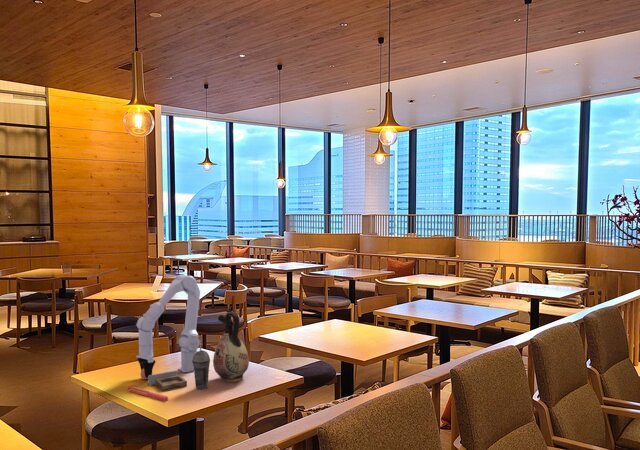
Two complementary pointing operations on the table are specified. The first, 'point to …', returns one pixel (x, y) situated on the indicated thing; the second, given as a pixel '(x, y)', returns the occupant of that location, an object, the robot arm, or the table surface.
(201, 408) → the table surface
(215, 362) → the ceramic jug
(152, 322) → the robot arm
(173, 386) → the tray
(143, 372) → the ball
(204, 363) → the beverage cup
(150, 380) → the partition
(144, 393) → the pink long bar
